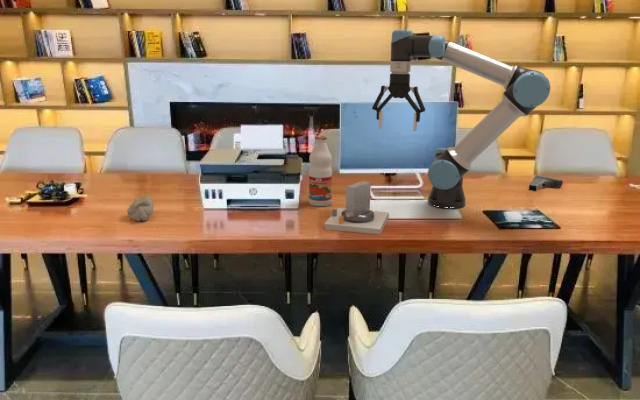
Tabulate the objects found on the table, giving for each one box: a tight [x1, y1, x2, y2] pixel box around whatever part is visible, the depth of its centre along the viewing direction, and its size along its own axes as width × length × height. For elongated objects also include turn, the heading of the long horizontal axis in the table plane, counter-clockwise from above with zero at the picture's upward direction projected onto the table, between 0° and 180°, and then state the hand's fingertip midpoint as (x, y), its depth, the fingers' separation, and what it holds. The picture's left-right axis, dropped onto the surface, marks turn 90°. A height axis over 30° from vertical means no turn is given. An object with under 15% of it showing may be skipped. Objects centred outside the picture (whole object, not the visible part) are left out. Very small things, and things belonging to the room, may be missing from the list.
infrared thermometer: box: [528, 175, 564, 192], centre depth 247 cm, size 5×12×15 cm
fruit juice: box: [308, 134, 333, 207], centre depth 218 cm, size 9×9×28 cm
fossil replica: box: [126, 194, 155, 222], centre depth 201 cm, size 12×8×10 cm
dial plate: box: [323, 207, 390, 235], centre depth 198 cm, size 20×20×4 cm
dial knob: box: [342, 180, 374, 222], centre depth 196 cm, size 12×12×12 cm
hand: (397, 129), depth 208 cm, fingers open, 13 cm apart
